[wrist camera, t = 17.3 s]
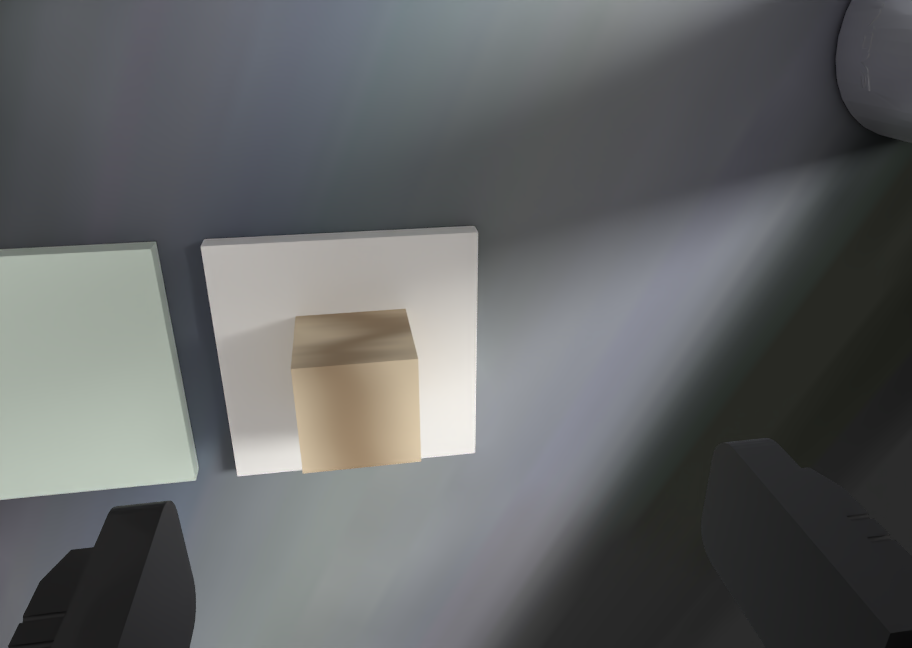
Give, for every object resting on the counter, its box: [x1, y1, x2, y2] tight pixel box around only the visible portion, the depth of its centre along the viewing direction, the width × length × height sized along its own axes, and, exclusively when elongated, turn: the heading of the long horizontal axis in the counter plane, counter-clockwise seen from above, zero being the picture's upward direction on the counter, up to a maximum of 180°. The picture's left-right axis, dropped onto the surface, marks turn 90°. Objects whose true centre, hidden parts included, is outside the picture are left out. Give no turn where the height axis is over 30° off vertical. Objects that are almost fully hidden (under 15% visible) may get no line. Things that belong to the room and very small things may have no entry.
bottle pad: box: [0, 242, 199, 500], centre depth 32 cm, size 12×12×1 cm
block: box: [291, 309, 421, 473], centre depth 31 cm, size 5×5×5 cm
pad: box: [200, 226, 478, 476], centre depth 34 cm, size 12×12×1 cm
